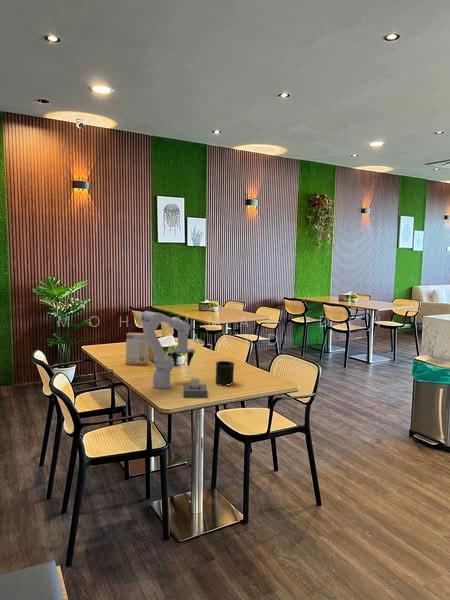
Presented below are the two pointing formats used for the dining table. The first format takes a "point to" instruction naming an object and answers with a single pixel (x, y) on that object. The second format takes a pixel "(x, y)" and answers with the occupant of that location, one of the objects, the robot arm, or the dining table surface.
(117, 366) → the dining table surface
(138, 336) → the cracker box
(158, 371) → the robot arm
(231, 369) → the mug
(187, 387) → the socket block
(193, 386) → the steel peg
